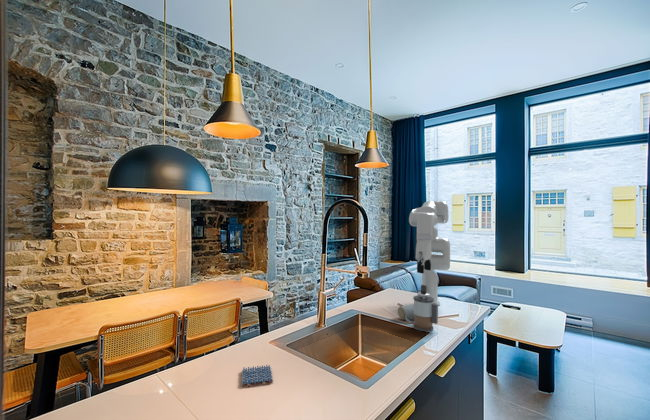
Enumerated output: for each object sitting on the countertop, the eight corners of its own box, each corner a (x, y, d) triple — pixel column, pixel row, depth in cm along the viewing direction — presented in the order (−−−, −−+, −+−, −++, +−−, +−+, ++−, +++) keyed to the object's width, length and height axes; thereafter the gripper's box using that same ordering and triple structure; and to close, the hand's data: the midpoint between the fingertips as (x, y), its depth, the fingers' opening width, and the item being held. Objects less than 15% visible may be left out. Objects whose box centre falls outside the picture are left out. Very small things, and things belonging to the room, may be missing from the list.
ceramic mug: (396, 317, 162) (396, 303, 162) (409, 316, 164) (409, 302, 164) (407, 324, 152) (407, 310, 151) (420, 323, 154) (421, 308, 154)
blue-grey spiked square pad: (240, 390, 94) (241, 383, 94) (241, 372, 104) (241, 367, 104) (273, 385, 97) (274, 379, 97) (271, 369, 107) (271, 363, 107)
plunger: (419, 308, 151) (420, 283, 152) (431, 311, 148) (431, 285, 148) (415, 311, 147) (415, 285, 147) (427, 314, 143) (427, 287, 143)
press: (417, 322, 154) (418, 294, 154) (440, 328, 147) (440, 298, 147) (410, 328, 146) (410, 298, 147) (433, 334, 139) (433, 302, 139)
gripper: (423, 235, 157) (423, 267, 157) (410, 238, 143) (409, 273, 143) (437, 236, 152) (437, 269, 152) (425, 239, 139) (425, 275, 139)
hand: (424, 271), depth 148 cm, fingers open, 9 cm apart
